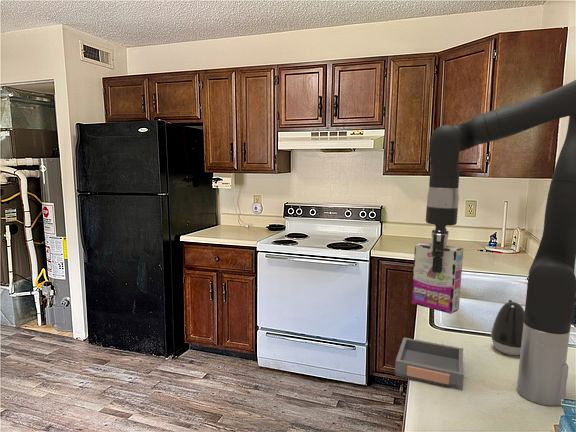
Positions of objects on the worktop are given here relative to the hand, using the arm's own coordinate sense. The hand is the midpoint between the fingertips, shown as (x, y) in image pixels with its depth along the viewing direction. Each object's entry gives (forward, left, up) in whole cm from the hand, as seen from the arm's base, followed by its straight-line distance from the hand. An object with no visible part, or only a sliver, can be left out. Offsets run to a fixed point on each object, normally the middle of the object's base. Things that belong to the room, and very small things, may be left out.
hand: (437, 269), depth 105 cm
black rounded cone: (-21, -22, -28) cm, 41 cm away
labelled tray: (0, 0, -27) cm, 27 cm away
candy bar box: (0, 0, -10) cm, 10 cm away
